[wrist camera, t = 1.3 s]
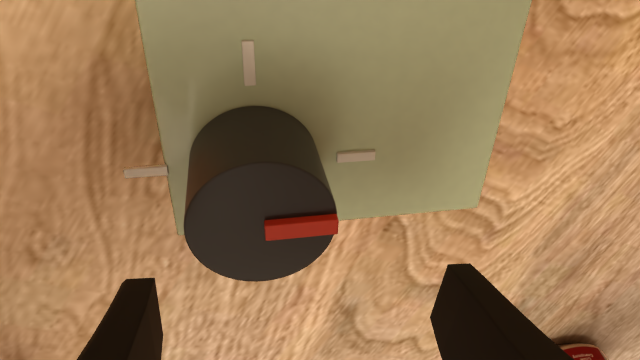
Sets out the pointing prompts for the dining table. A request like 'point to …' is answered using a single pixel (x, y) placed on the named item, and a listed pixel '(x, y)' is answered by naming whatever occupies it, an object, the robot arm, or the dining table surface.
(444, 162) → the panel
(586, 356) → the soda can
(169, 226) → the dining table surface
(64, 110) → the dining table surface
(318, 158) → the knob
